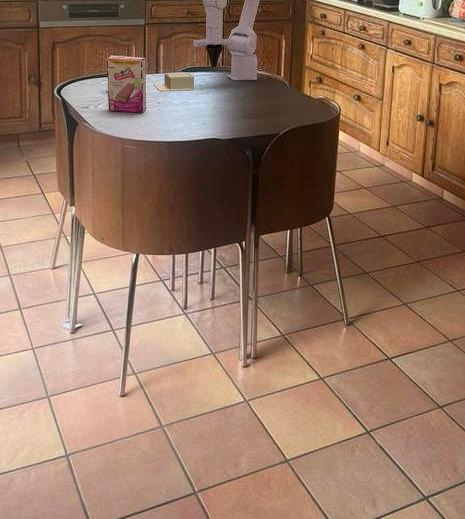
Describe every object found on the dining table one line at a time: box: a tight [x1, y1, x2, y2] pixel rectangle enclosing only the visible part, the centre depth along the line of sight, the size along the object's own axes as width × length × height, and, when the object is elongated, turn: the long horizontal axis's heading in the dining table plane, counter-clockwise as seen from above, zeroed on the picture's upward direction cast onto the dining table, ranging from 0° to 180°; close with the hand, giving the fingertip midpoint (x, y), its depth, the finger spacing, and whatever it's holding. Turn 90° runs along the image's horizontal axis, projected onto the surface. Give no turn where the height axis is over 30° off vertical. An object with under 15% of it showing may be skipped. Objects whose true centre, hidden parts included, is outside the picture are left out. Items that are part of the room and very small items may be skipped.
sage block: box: [163, 72, 195, 89], centre depth 258 cm, size 4×7×9 cm
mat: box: [153, 83, 194, 92], centre depth 259 cm, size 12×10×1 cm
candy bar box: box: [106, 55, 147, 114], centre depth 225 cm, size 11×5×16 cm, turn 84°
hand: (213, 66), depth 260 cm, fingers closed
